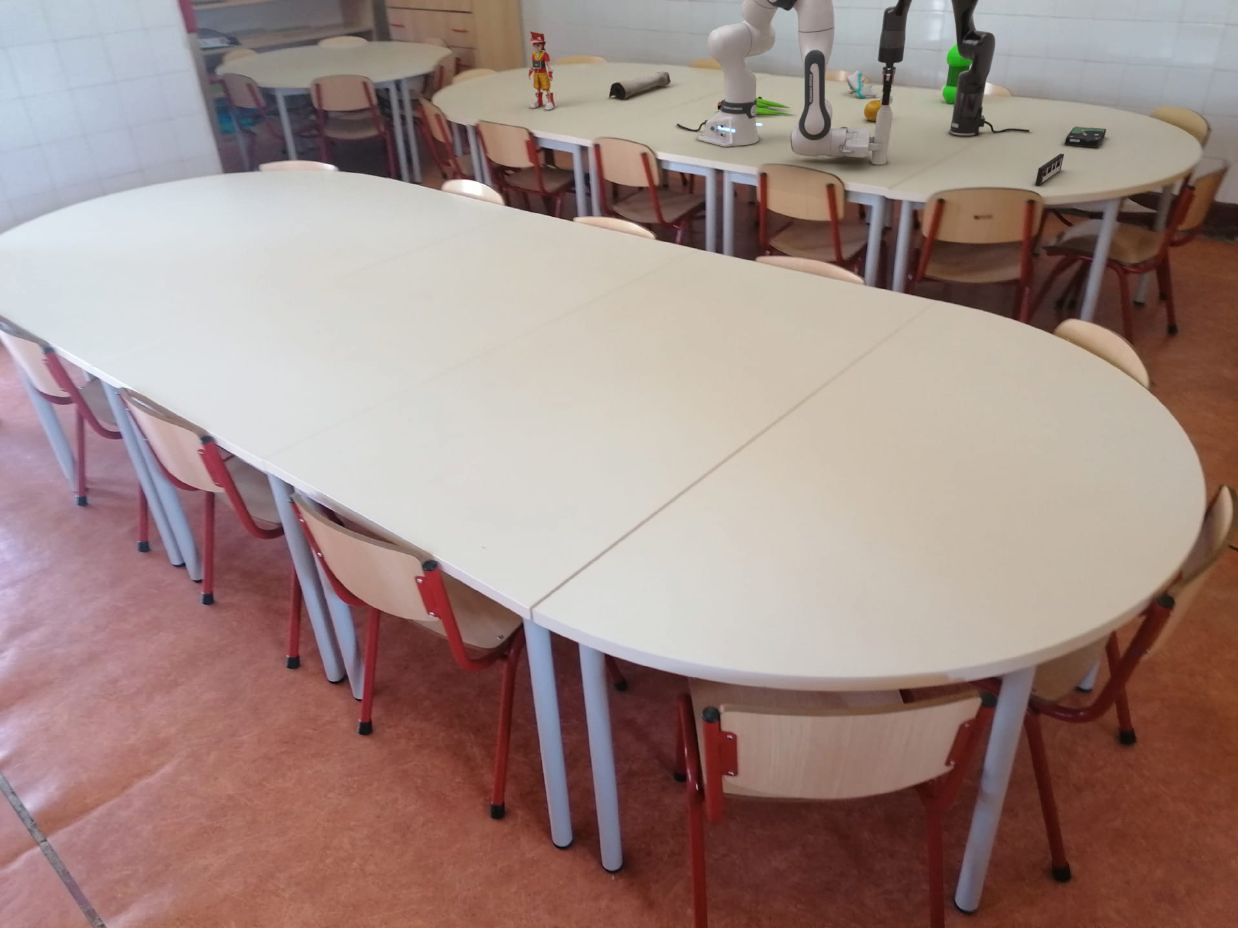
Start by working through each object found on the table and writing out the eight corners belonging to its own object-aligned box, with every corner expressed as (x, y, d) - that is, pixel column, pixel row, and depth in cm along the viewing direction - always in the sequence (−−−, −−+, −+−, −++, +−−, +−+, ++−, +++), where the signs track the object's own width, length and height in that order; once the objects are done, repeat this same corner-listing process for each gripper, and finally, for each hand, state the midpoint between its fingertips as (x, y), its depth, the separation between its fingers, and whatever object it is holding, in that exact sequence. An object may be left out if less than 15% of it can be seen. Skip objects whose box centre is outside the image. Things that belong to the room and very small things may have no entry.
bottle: (888, 164, 294) (896, 100, 283) (873, 165, 294) (881, 101, 283) (883, 160, 298) (891, 96, 287) (869, 161, 298) (876, 97, 286)
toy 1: (525, 109, 381) (517, 32, 364) (534, 104, 388) (527, 28, 371) (550, 110, 377) (543, 32, 360) (559, 105, 384) (553, 28, 367)
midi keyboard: (1039, 185, 269) (1043, 168, 266) (1035, 184, 270) (1038, 168, 267) (1060, 170, 279) (1064, 154, 277) (1056, 169, 280) (1060, 153, 277)
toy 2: (708, 113, 354) (778, 126, 342) (709, 100, 352) (780, 111, 339) (738, 103, 375) (805, 114, 362) (739, 90, 372) (807, 101, 359)
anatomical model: (842, 70, 374) (865, 63, 373) (844, 95, 380) (867, 89, 379) (852, 77, 361) (877, 71, 360) (855, 104, 367) (879, 97, 366)
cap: (879, 101, 287) (880, 95, 286) (891, 101, 287) (892, 95, 286) (880, 104, 284) (881, 98, 283) (892, 104, 284) (893, 98, 283)
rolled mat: (651, 76, 408) (662, 61, 399) (662, 93, 408) (674, 79, 400) (605, 92, 391) (616, 77, 383) (617, 110, 391) (628, 95, 383)
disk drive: (1097, 149, 296) (1104, 136, 306) (1099, 140, 294) (1106, 128, 304) (1064, 145, 301) (1072, 133, 311) (1065, 137, 299) (1074, 125, 309)
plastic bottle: (973, 101, 354) (984, 32, 339) (955, 106, 349) (966, 36, 335) (952, 97, 361) (962, 29, 346) (934, 102, 356) (944, 33, 342)
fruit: (858, 112, 335) (872, 93, 332) (861, 115, 343) (874, 96, 340) (877, 125, 334) (891, 105, 331) (879, 128, 342) (892, 108, 339)
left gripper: (839, 142, 286) (884, 142, 282) (842, 125, 302) (885, 125, 299) (837, 162, 289) (882, 162, 286) (841, 144, 305) (883, 144, 302)
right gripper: (904, 49, 269) (897, 109, 279) (905, 40, 280) (898, 98, 290) (878, 49, 271) (872, 109, 281) (880, 40, 282) (874, 98, 292)
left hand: (883, 143), depth 292 cm, fingers closed on bottle, 5 cm apart
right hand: (885, 103), depth 285 cm, fingers closed on cap, 3 cm apart
